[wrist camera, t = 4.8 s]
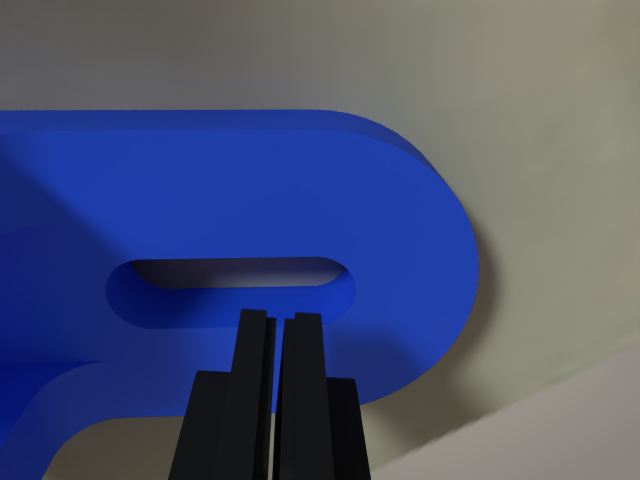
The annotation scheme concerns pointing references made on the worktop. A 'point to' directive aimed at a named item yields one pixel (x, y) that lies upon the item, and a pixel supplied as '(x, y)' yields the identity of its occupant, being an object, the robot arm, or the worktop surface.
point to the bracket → (209, 242)
